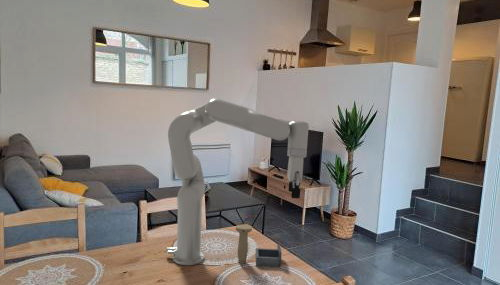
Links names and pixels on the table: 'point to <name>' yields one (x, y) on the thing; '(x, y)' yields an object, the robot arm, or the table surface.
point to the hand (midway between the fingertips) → (293, 194)
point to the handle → (243, 242)
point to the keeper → (268, 257)
